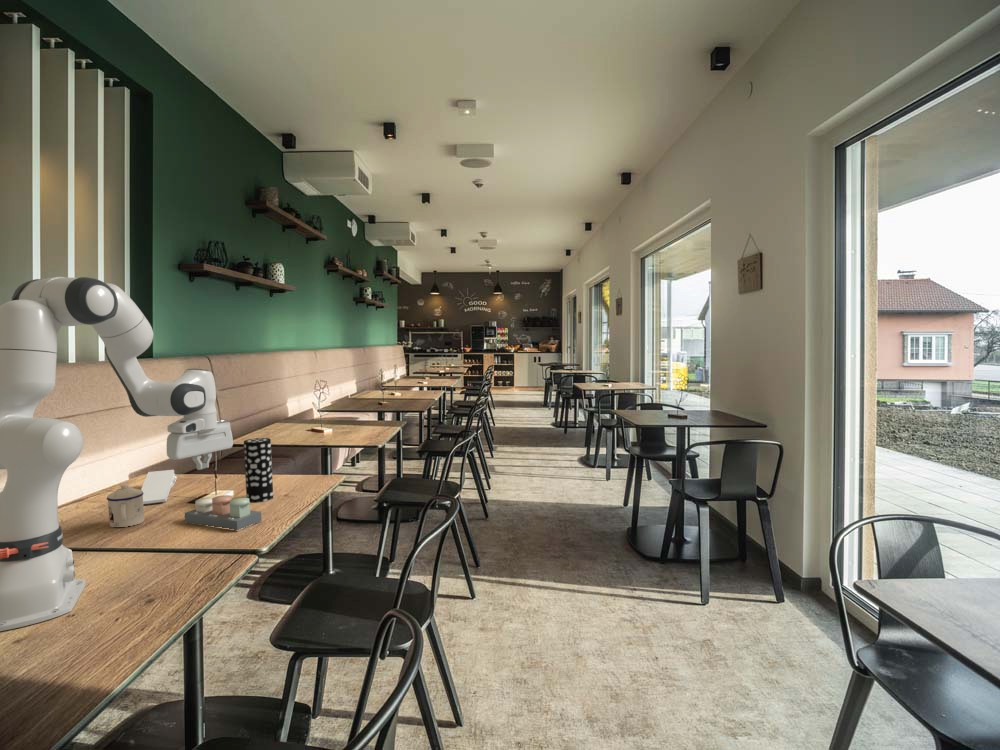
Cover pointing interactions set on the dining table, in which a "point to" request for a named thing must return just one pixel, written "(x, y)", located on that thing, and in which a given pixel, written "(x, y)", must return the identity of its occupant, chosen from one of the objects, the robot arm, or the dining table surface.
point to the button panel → (222, 519)
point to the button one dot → (203, 505)
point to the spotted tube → (258, 469)
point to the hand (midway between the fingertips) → (202, 468)
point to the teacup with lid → (125, 507)
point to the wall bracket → (158, 486)
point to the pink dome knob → (221, 504)
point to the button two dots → (239, 507)
